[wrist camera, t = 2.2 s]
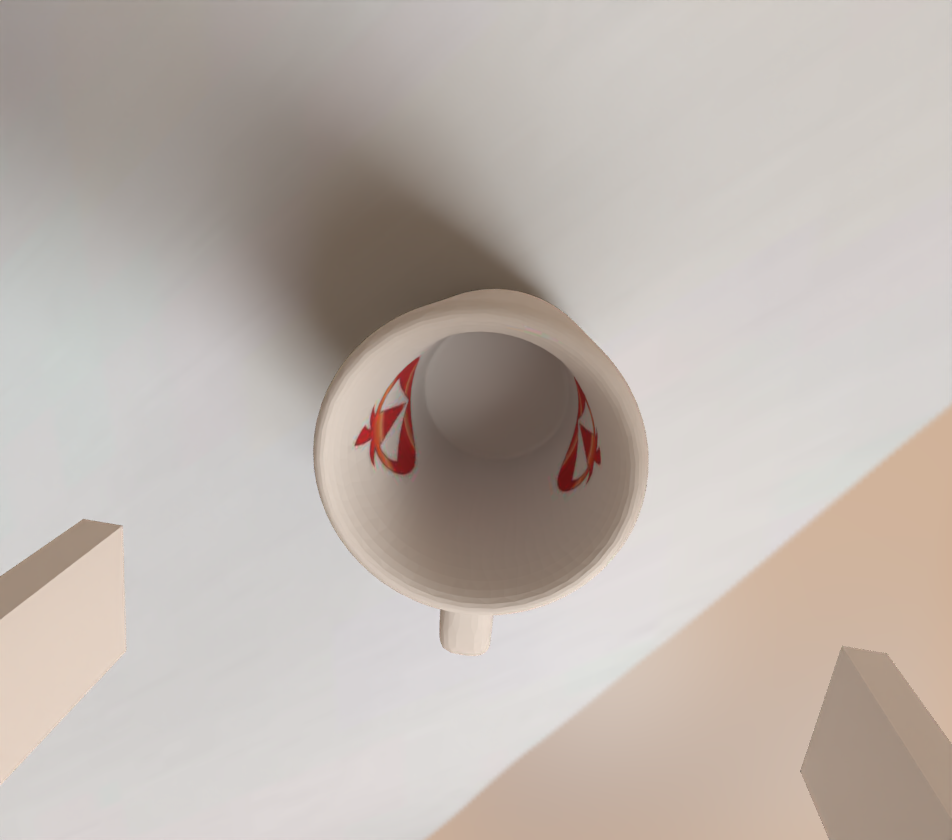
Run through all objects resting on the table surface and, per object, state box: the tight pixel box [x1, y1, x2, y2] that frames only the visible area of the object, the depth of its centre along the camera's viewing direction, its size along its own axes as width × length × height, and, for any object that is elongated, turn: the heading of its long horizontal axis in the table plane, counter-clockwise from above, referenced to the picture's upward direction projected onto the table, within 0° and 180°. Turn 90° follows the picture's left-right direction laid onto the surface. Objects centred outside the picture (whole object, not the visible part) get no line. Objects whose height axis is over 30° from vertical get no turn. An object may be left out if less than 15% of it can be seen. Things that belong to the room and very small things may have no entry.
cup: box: [313, 289, 648, 656], centre depth 21 cm, size 11×8×8 cm
